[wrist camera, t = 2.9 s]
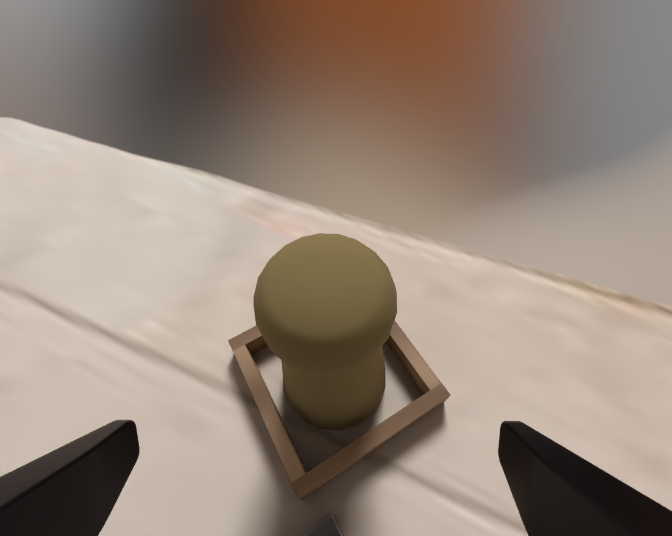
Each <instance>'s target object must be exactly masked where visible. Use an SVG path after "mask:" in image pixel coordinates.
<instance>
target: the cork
mask: <svg viewBox="0 0 672 536" xmlns="http://www.w3.org/2000/svg"><path fill="white" fill-rule="evenodd" d="M254 312H255V320H256V325H257V327H258V329H259V331H260V333H261V335H262V337H263V338H264V340H265V342H266V344H267V346H268V347H269V349H270V350H271V351H272V352H273V353H274V354H275V355H277V356H278V357H279V358H280V359H281V360H282V370H283V380H284V386H285V392H286V396H287V398H288V400H289V402H290V404H291V406H292V408H293V410H294V411H295V412H296V413H297V414H299V415H300V416H301V417H302V418H303V419H304V420H305V421H306V422H308V423H310V424H313V425H315V426H317V427H319V428H322V429H334V430H340V429H344V428H348V427H351V426H355V425H357V424H358V423H360V422H361V421H363V420H364V419H366V418H367V417H369V416H370V415H371V414H372V412H373V411H374V409H375V408H376V407H377V405H378V404H379V403H380V401H381V398H382V395H383V392H384V389H385V364H384V357H383V350H382V346H383V344H384V343H385V342H386V341H387V339H388V337H389V335H390V332H391V329H392V326H393V323H394V320H395V317H396V314H397V292H396V288H395V284H394V282H393V279H392V277H391V274H390V272H389V269H388V267H387V266H386V264H385V263H384V262H383V261H382V260H381V258H380V257H379V256H378V255H377V254H376V253H375V252H374V251H373V250H371V249H370V248H368V247H367V246H365V245H364V244H362V243H360V242H359V241H357V240H356V239H353V238H349V237H346V236H343V235H339V234H321V233H320V234H315V235H310V236H305V237H301V238H299V239H297V240H295V241H293V242H291V243H289V244H287V245H285V246H284V247H283V248H282V249H281V250H280V251H278V252H277V253H276V254H275V255H274V256H273V257H272V258H271V259H270V260H269V261H268V263H267V264H266V266H265V268H264V269H263V271H262V273H261V274H260V276H259V277H258V281H257V285H256V289H255V294H254Z"/></svg>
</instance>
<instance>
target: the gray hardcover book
mask: <svg viewBox="0 0 672 536" xmlns="http://www.w3.org/2000/svg"><path fill="white" fill-rule="evenodd" d="M302 536H343V535H342V533H341V531H340V528H339V526H338V524H337V522H336V520H335V518H334V516H333V514H331V515H329V516H328V517H327V518H325V519H324V520H322V521H321V522H320V523H318V524H317V525H315V526H314V527H313V528H311V529H310V530H309V531H307V532H306V533H304V534H303V535H302Z"/></svg>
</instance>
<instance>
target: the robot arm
mask: <svg viewBox="0 0 672 536" xmlns="http://www.w3.org/2000/svg"><path fill="white" fill-rule="evenodd" d="M498 455H499V460H500V463H501V466H502V468H503V471H504V474H505V476H506V479H507V482H508V484H509V487H510V490H511V492H512V495H513V498H514V500H515V503H516V506H517V508H518V511H519V514H520V516H521V519H522V521H523V524H524V526H525V529H526V531H527V533H528V536H672V511H671V510H669V509H667V508H666V507H664V506H662V505H661V504H659V503H657V502H655V501H654V500H652V499H650V498H649V497H647V496H645V495H644V494H642V493H640V492H639V491H637V490H635V489H634V488H632V487H630V486H629V485H627V484H625V483H623V482H622V481H620V480H618V479H617V478H615V477H613V476H612V475H610V474H608V473H607V472H605V471H603V470H602V469H600V468H598V467H597V466H595V465H593V464H591V463H590V462H588V461H586V460H585V459H583V458H581V457H580V456H578V455H576V454H575V453H573V452H571V451H570V450H568V449H566V448H565V447H563V446H561V445H559V444H558V443H556V442H554V441H553V440H551V439H549V438H548V437H546V436H544V435H543V434H541V433H539V432H538V431H536V430H534V429H533V428H531V427H529V426H528V425H526V424H524V423H522V422H520V421H504V422H503V423H502V424H501V427H500V437H499V448H498ZM138 456H139V442H138V435H137V429H136V424H135V422H134V421H132V420H115V421H113V422H111V423H109V424H107V425H105V426H103V427H101V428H99V429H97V430H95V431H93V432H91V433H89V434H87V435H85V436H83V437H80V438H78V439H76V440H74V441H72V442H70V443H68V444H66V445H64V446H62V447H60V448H58V449H56V450H54V451H52V452H50V453H48V454H46V455H44V456H42V457H40V458H38V459H36V460H34V461H32V462H30V463H28V464H26V465H24V466H22V467H20V468H18V469H16V470H14V471H12V472H9V473H7V474H5V475H3V476H1V477H0V536H98V535H99V533H100V531H101V530H102V528H103V526H104V524H105V522H106V521H107V519H108V517H109V515H110V513H111V511H112V509H113V507H114V505H115V503H116V501H117V499H118V497H119V495H120V493H121V491H122V489H123V487H124V485H125V483H126V481H127V479H128V477H129V475H130V473H131V471H132V469H133V467H134V465H135V463H136V461H137V459H138Z"/></svg>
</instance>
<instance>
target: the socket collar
mask: <svg viewBox="0 0 672 536" xmlns="http://www.w3.org/2000/svg"><path fill="white" fill-rule="evenodd" d="M228 341H229V343H230V346H231V348H232V350H233V353H234V355H235V357H236V359H237V362H238V364H239V366H240V368H241V371H242V373H243V375H244V377H245V380H246V382H247V384H248V386H249V389H250V391H251V393H252V396H253V398H254V400H255V402H256V405H257V407H258V409H259V411H260V414H261V416H262V418H263V420H264V423H265V425H266V427H267V429H268V432H269V434H270V436H271V439H272V441H273V443H274V445H275V448H276V450H277V452H278V454H279V457H280V459H281V461H282V463H283V466H284V468H285V470H286V473H287V475H288V477H289V479H290V482H291V484H292V486H293V488H294V491H295V493H296V495H297V497H298V500H301V499H303V498H305V497H306V496H308V495H309V494H311V493H312V492H314V491H315V490H317V489H318V488H319V487H321V486H322V485H324V484H325V483H327V482H328V481H330V480H331V479H333V478H334V477H335V476H337V475H338V474H340V473H341V472H343V471H344V470H346V469H347V468H349V467H350V466H351V465H353V464H354V463H356V462H357V461H359V460H360V459H362V458H363V457H364V456H366V455H367V454H369V453H370V452H372V451H373V450H375V449H376V448H378V447H379V446H380V445H382V444H383V443H385V442H386V441H388V440H389V439H391V438H392V437H394V436H395V435H396V434H398V433H399V432H401V431H402V430H404V429H405V428H407V427H408V426H410V425H411V424H412V423H414V422H415V421H417V420H418V419H420V418H421V417H423V416H424V415H425V414H427V413H428V412H430V411H431V410H433V409H434V408H436V407H437V406H439V405H440V404H441V403H443V402H444V401H445V400H446V399H447V398H448V397H449V396H450V394H449V392H448V391H447V390H446V388H445V387H444V386H443V384H442V383H441V382H440V380H439V379H438V378H437V376H436V375H435V374H434V372H433V371H432V370H431V368H430V367H429V366H428V364H427V363H426V362H425V360H424V359H423V358H422V356H421V355H420V354H419V352H418V351H417V350H416V348H415V347H414V346H413V344H412V343H411V342H410V340H409V339H408V338H407V336H406V335H405V334H404V332H403V331H402V330H401V328H400V327H399V326H398V324H397V323H396V322H395V320H394V323H393V326H392V329H391V332H390V335H389V337H388V339H387V341H386V342H387V344H388V345H389V347H390V348H391V349H392V351H393V352H394V354H395V355H396V356H397V358H398V359H399V361H400V362H401V363H402V365H403V366H404V368H405V369H406V371H407V372H408V373H409V375H410V376H411V378H412V379H413V380H414V382H415V383H416V385H417V386H418V387H419V389H420V390H421V392H422V393H423V395H422V396H421V397H419V398H418V399H416V400H415V401H413V402H412V403H410V404H409V405H407V406H406V407H404V408H403V409H401V410H400V411H398V412H397V413H395V414H394V415H392V416H391V417H389V418H388V419H386V420H385V421H383V422H382V423H380V424H379V425H377V426H376V427H374V428H373V429H371V430H370V431H369V432H367V433H366V434H364V435H363V436H361V437H360V438H358V439H357V440H355V441H354V442H352V443H351V444H349V445H348V446H346V447H345V448H343V449H342V450H340V451H339V452H337V453H336V454H334V455H333V456H331V457H330V458H328V459H327V460H325V461H324V462H322V463H321V464H319V465H318V466H316V467H315V468H313V469H312V470H310V471H309V472H307V471H306V469H305V467H304V465H303V463H302V461H301V458H300V456H299V454H298V452H297V450H296V448H295V446H294V444H293V441H292V439H291V437H290V435H289V433H288V431H287V429H286V427H285V424H284V422H283V420H282V418H281V416H280V414H279V412H278V410H277V407H276V405H275V403H274V401H273V399H272V397H271V395H270V393H269V390H268V388H267V386H266V384H265V382H264V380H263V378H262V376H261V373H260V371H259V369H258V367H257V365H256V363H255V361H254V359H253V356H252V354H251V353H253V352H255V351H256V350H258V349H260V348H262V347H264V346H266V345H267V344H266V342H265V340H264V338H263V337H262V335H261V333H260V331H259V329H258V327H257V326H255V327H253V328H251V329H249V330H247V331H245V332H243V333H241V334H239V335H238V336H236V337H234V338H232V339H230V340H228Z"/></svg>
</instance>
